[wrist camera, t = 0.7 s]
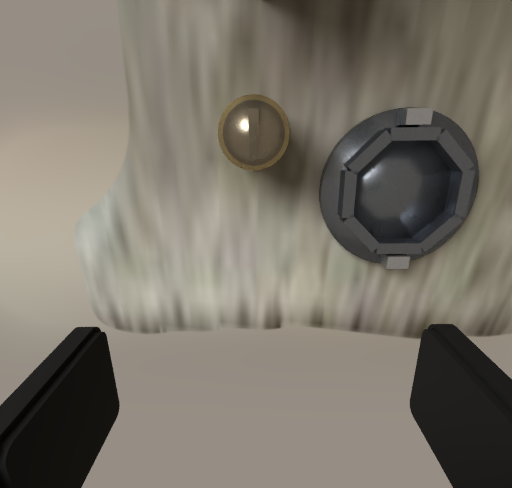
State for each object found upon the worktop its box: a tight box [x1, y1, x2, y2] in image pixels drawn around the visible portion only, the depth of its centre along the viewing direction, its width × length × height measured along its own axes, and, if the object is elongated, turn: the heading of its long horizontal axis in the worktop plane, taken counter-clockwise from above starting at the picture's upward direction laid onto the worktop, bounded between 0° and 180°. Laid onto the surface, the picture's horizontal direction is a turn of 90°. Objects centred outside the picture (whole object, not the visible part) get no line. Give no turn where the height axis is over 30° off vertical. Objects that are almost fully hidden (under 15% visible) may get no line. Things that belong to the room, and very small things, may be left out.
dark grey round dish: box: [319, 107, 479, 269], centre depth 28 cm, size 14×14×3 cm
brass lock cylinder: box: [218, 94, 290, 171], centre depth 25 cm, size 5×5×6 cm
